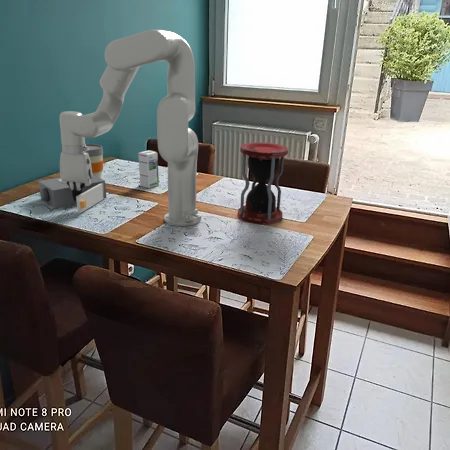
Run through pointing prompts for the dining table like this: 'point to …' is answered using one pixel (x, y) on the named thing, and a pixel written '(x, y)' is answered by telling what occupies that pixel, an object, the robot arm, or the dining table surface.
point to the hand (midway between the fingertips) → (77, 199)
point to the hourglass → (262, 182)
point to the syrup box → (148, 168)
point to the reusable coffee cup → (96, 159)
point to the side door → (90, 197)
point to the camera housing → (63, 191)
